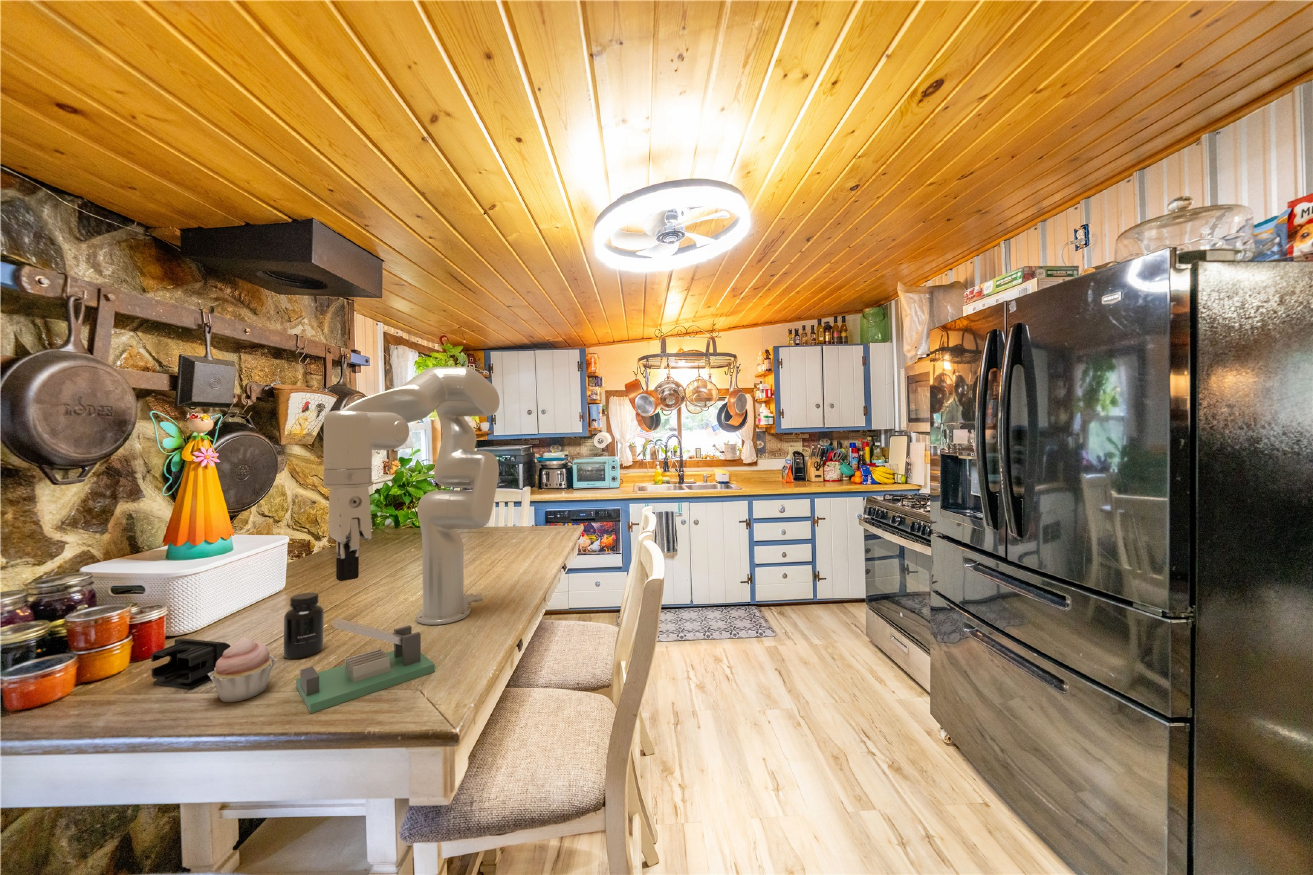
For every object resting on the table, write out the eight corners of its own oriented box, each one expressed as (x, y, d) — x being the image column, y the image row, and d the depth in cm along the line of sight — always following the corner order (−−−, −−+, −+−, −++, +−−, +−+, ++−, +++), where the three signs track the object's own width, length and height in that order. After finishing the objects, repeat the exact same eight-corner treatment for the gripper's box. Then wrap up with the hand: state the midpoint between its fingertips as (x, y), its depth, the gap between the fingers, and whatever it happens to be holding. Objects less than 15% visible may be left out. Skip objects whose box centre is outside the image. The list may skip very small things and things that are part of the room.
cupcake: (259, 676, 94) (258, 623, 94) (287, 687, 90) (287, 632, 90) (196, 700, 85) (195, 642, 85) (225, 713, 81) (224, 652, 81)
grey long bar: (406, 644, 99) (410, 635, 99) (411, 648, 97) (415, 640, 97) (330, 624, 90) (335, 616, 90) (334, 629, 88) (340, 620, 88)
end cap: (233, 671, 96) (233, 637, 96) (193, 690, 89) (192, 653, 89) (192, 667, 98) (192, 632, 98) (149, 684, 91) (149, 648, 91)
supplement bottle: (303, 661, 100) (302, 602, 100) (275, 658, 101) (274, 599, 101) (331, 647, 107) (331, 591, 106) (305, 644, 108) (304, 589, 108)
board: (412, 652, 104) (412, 619, 104) (434, 671, 96) (434, 635, 95) (296, 686, 90) (295, 648, 90) (310, 713, 81) (310, 671, 81)
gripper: (383, 479, 88) (383, 583, 88) (359, 475, 98) (359, 567, 98) (334, 482, 82) (333, 592, 82) (314, 477, 93) (313, 575, 93)
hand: (347, 578), depth 90 cm, fingers closed
